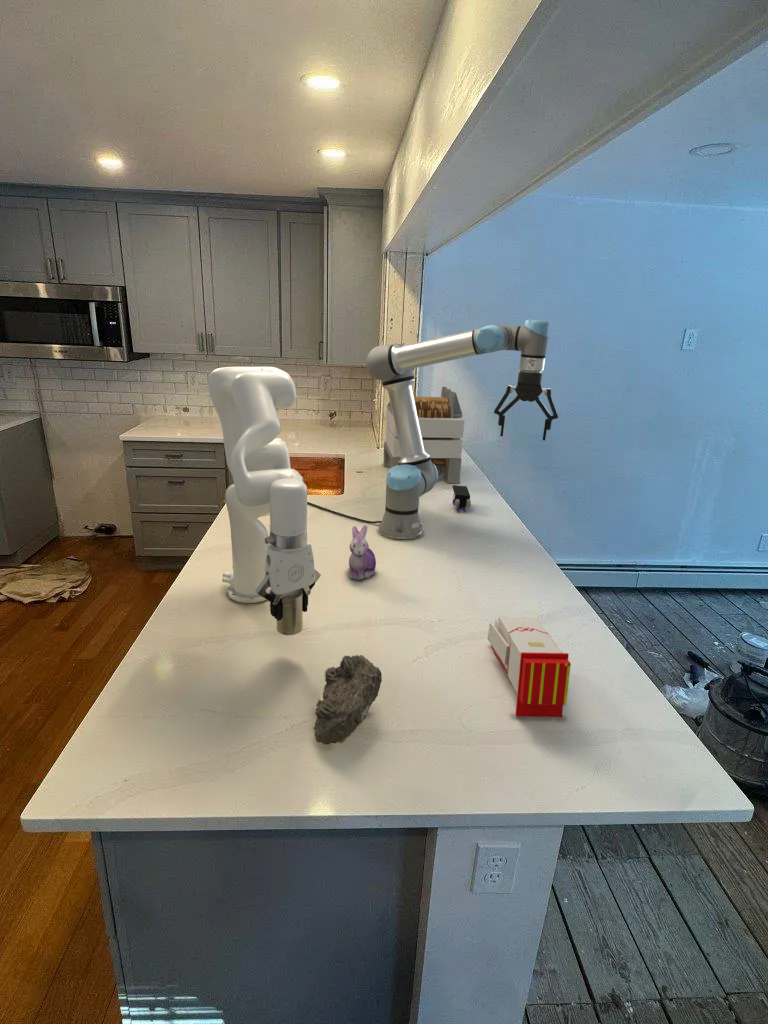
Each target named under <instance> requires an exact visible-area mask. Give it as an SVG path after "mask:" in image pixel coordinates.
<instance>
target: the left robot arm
mask: <svg viewBox="0 0 768 1024" xmlns="http://www.w3.org/2000/svg"><path fill="white" fill-rule="evenodd" d="M207 384H208V392H209V396H210V400H211V402H212V405H213V407H214V409H215V411H216V414H217V416H218V418H219V421H220V424H221V431H222V438H223V447H224V453H225V460H226V466H227V469H228V471H229V472H230V474H231V478H232V481H233V483H232V484H230V485H228V487H227V488H226V491H225V495H224V497H225V505H226V510H227V514H228V518H229V527H230V540H231V541H230V542H231V559H232V572H229V571H224V572H223V573H222V579H221V582H222V583H225V584H229V587H228V589H227V594H228V597H229V598H230V599H231V600H233V601H235V602H238V603H242V604H253V603H254V604H255V603H261V602H264V601H268V602H269V610H270V611H269V613H270V616H271V617H272V618H274V619H275V620H276V619H277V620H278V621H279V620H281V604H280V603H279V600H280V597H281V594H284V593H288V592H291V591H294V590H298V589H301V590H302V591H303V613H307V612H308V606H309V596H310V595H311V593H312V592H311V591H312V589H313V588H314V586H315V585H316V583H317V582H318V581H319V579H320V578H321V576H322V574H321V573H320V572H319V571H317V570H316V568H315V558H314V551H313V547H312V543H311V541H310V540H309V539H308V504H307V502H308V487H307V485H306V483H305V482H304V479H303V476H302V475H301V474H300V473H299V471H298V470H296V469H295V468H292V466H291V458H290V452H289V449H288V446H287V444H286V442H285V441H284V440H283V439H282V438H280V437H279V435H280V434H281V432H282V431H281V430H282V427H281V423H280V419H279V417H278V413H277V410H276V409H282V408H283V409H286V408H290V407H292V406H293V405H294V403H295V402H296V397H297V392H296V391H297V390H296V385H295V383H294V380H293V378H292V377H291V376H290V374H289V373H288V372H287V371H285V370H282V369H280V368H278V367H275V366H225V367H219V368H216V369H214V370H212V371H211V372H210V373H209V375H208V383H207ZM267 516H269V527H270V528H269V529H270V530H269V532H268V528H267V527H266V526H265V525H264V523H262V522H261V521H260V519H259V518H261V517H267Z"/></svg>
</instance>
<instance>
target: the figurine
mask: <svg viewBox="0 0 768 1024" xmlns="http://www.w3.org/2000/svg"><path fill="white" fill-rule="evenodd" d="M351 528H352V529H351V534H352V539H351V541H350V543H349V551H350V552H351V553H350V555H349V558H348V567H349V568H348V571H347V572H348V574H349V576H348V577H349V578H350V579H354V580H363V579H368V578H370V577H372V576H373V575H374V574H375V571H376V566H377V560H376V555H375V553H374V552H373V550H372V549H371V548H369V547H370V545H369V542H368V541H367V539H366V536H367V533H368V525H367V524H365V525H363V527H362V528H361V529H360V531H359V529H358V528H357V526H356V525H353V526H352V527H351Z"/></svg>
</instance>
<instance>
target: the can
mask: <svg viewBox="0 0 768 1024" xmlns="http://www.w3.org/2000/svg"><path fill="white" fill-rule="evenodd" d="M279 603H280V604H281V620H279V621H278V620H277V619H275V623H276V631H277V632H278V633H279V634H281V635H283V636H294V635H298V634H300V632H302V631H303V629H304V625H303V624H304V612H303V591H302V590H301V589H298V590H294V591H291V592H288V593H284V594H281V597H280V600H279Z"/></svg>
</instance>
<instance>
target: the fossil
mask: <svg viewBox="0 0 768 1024" xmlns="http://www.w3.org/2000/svg"><path fill="white" fill-rule="evenodd" d="M324 673H325V675H324V677H325V679H324V681H325V684H324V687H323V692H322V700H321V699H318V700H317V702H316V705H315V706H316V707H317V708H316V709H315V711H316V712H315V716H316V717H315V721H314V726H313V728H312V729H313V730H314V737H315V741H316V742H317V743H322V744H323V745H325V746H327V745H331V744H337V743H339V744H342V743H344V742H345V741H346V740H347V739H348V738H349V737H350V736H351V735H352V734H353V733H354V732H355V731H356V730H357V728H358V727H359V726H360V725H361V724H363V722H364V720H365V719H366V717H367V714H369V711H370V709H371V707H372V705H373V702H376V699H377V697H379V692H380V689H381V685H382V679H383V678H382V677H383V675H382V672H381V670H380V668H379V667H378V666H375V665H374V663H373V662H371V661H370V660H369V659H368V658H366V657H365V656H364V655H362V654H360V655H358V654H356V655H352V656H350V655H344V656H343V657H342V659H341V661H340V664H339V666H336V667H335V666H331V667H328V668H326V670H325V672H324Z"/></svg>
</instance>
